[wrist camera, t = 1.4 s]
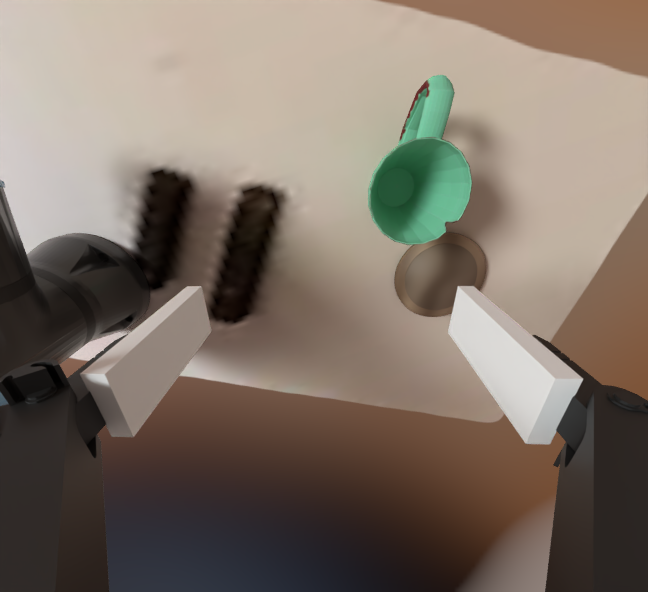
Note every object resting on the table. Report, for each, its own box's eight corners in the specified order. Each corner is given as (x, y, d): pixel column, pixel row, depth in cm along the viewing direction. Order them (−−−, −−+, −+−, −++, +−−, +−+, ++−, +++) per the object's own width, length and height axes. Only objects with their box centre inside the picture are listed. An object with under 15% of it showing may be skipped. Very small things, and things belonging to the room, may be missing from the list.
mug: (422, 229, 37) (454, 249, 28) (352, 222, 37) (361, 240, 28) (454, 101, 31) (508, 74, 22) (370, 91, 31) (389, 60, 22)
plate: (391, 315, 43) (393, 318, 42) (397, 234, 38) (399, 236, 37) (473, 312, 43) (476, 315, 42) (492, 230, 38) (496, 232, 37)
